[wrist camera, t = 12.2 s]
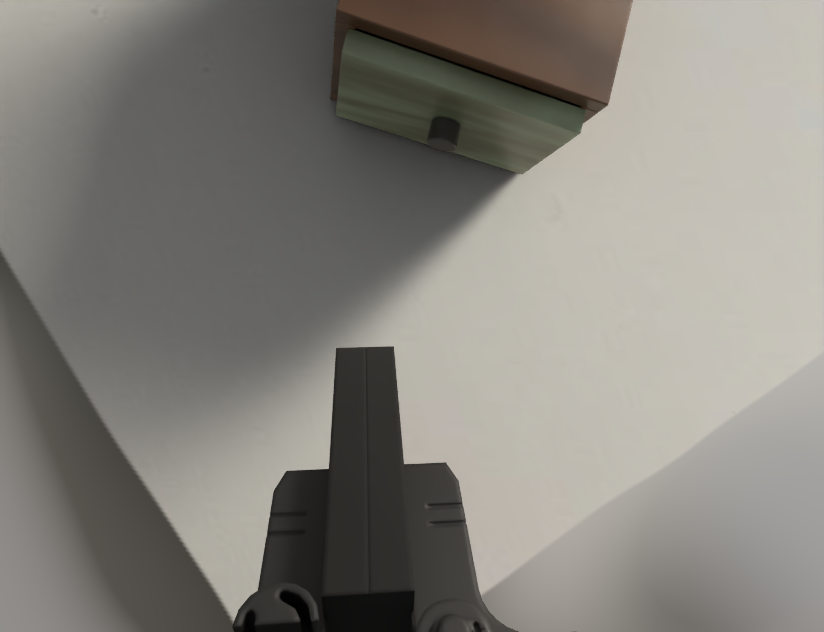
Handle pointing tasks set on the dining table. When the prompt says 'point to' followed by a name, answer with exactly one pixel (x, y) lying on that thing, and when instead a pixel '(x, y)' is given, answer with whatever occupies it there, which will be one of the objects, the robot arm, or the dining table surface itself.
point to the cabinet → (505, 40)
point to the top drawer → (450, 104)
